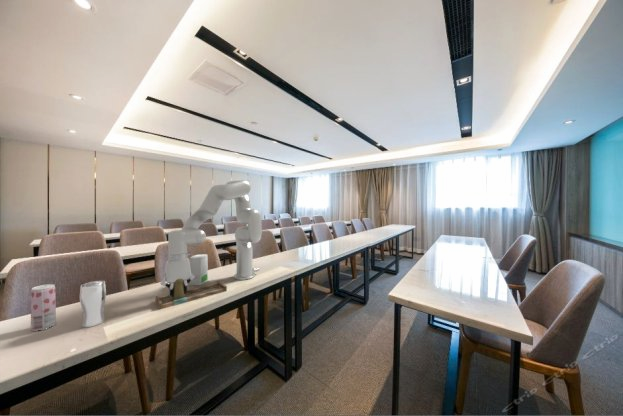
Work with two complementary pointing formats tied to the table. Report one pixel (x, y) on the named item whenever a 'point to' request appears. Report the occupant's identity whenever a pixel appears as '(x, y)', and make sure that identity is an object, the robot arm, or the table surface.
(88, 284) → the beer glass
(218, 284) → the brown wooden tray
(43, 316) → the beverage can
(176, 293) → the cork
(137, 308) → the table surface
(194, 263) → the skincare box
